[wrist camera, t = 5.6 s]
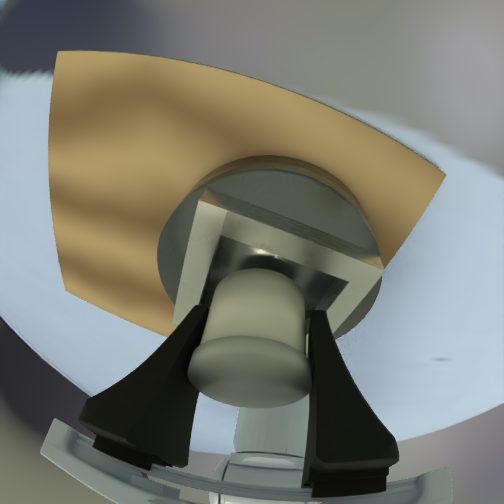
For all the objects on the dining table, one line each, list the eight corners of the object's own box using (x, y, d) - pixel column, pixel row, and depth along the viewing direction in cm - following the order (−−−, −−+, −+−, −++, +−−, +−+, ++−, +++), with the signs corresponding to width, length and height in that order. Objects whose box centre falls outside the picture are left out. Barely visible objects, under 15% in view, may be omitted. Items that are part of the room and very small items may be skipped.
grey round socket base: (314, 335, 21) (314, 381, 17) (166, 285, 20) (143, 328, 17) (408, 210, 14) (435, 254, 10) (200, 123, 13) (165, 144, 9)
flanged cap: (284, 341, 15) (281, 414, 11) (201, 318, 15) (180, 391, 11) (326, 284, 12) (336, 370, 9) (224, 250, 12) (199, 336, 8)
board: (290, 367, 26) (289, 375, 25) (70, 283, 24) (65, 290, 23) (439, 168, 13) (446, 174, 12) (68, 50, 11) (57, 51, 10)
